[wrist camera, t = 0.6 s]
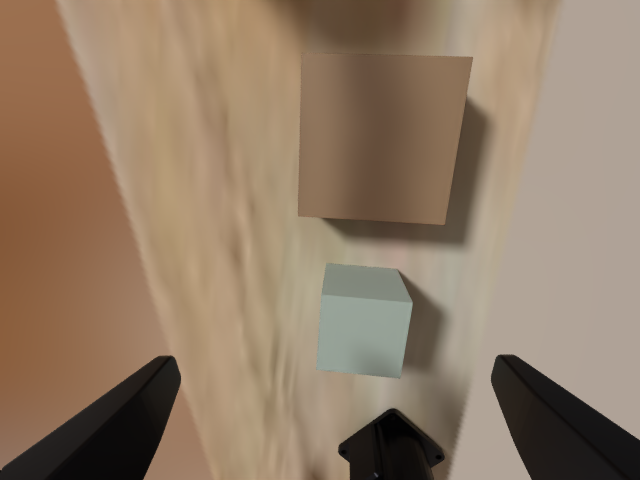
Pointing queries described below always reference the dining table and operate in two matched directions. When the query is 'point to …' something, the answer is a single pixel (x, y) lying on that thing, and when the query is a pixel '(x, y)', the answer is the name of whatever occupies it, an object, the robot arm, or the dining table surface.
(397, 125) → the tan square slab
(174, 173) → the dining table surface
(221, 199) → the dining table surface
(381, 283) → the sage cube
